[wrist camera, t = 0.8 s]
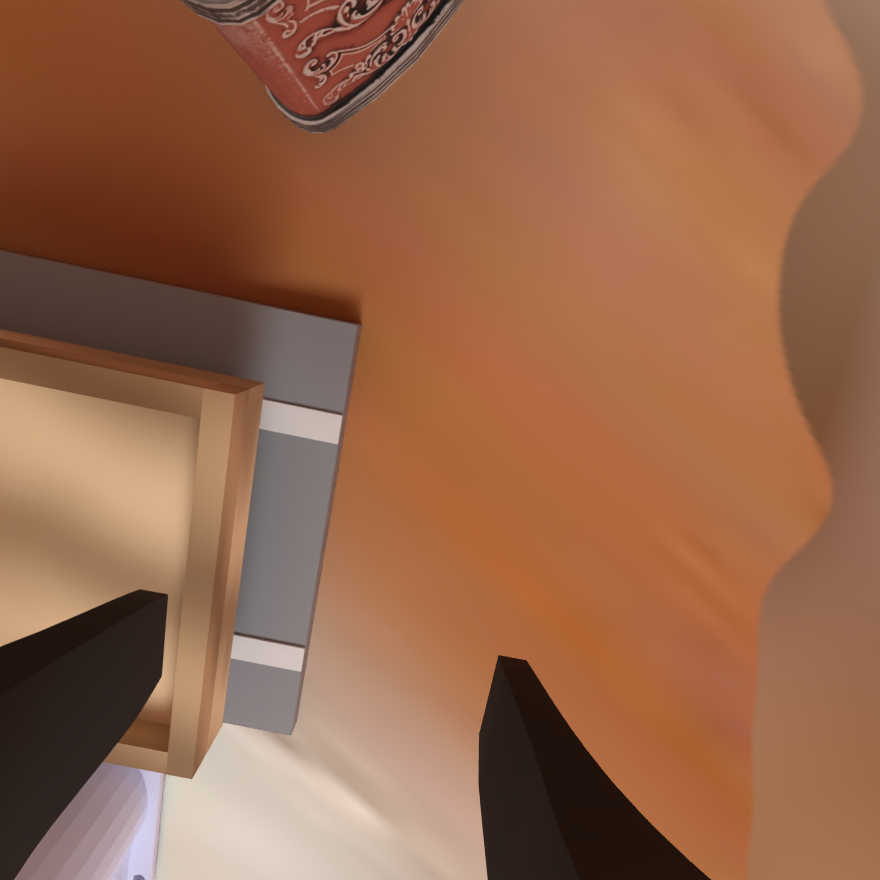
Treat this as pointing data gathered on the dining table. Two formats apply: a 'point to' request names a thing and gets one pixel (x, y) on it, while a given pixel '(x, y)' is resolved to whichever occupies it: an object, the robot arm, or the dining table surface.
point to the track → (278, 449)
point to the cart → (129, 516)
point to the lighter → (327, 49)
